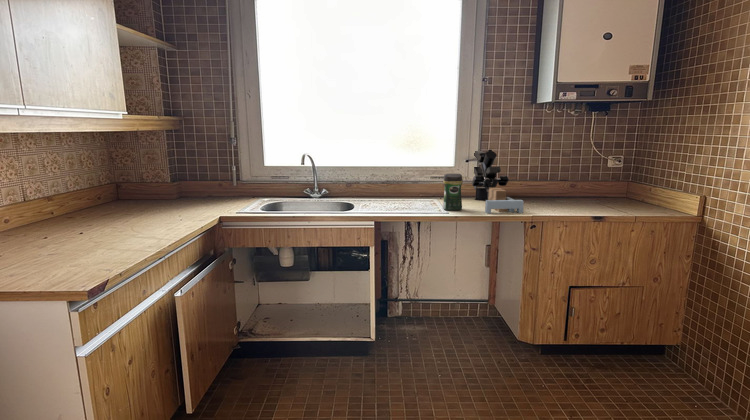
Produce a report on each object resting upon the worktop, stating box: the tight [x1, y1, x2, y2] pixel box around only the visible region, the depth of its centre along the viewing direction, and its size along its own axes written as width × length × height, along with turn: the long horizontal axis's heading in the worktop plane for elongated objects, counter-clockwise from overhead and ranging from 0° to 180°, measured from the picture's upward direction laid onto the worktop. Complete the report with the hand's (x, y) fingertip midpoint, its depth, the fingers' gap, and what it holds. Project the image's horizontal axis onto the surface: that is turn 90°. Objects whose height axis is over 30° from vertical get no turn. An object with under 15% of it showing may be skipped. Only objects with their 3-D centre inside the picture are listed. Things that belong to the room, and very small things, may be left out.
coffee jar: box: [442, 173, 463, 212], centre depth 224 cm, size 10×8×19 cm
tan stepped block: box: [487, 186, 509, 213], centre depth 226 cm, size 16×5×10 cm, turn 4°
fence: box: [484, 196, 525, 214], centre depth 221 cm, size 12×18×6 cm, turn 93°
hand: (493, 193), depth 233 cm, fingers closed, pressing on tan stepped block
